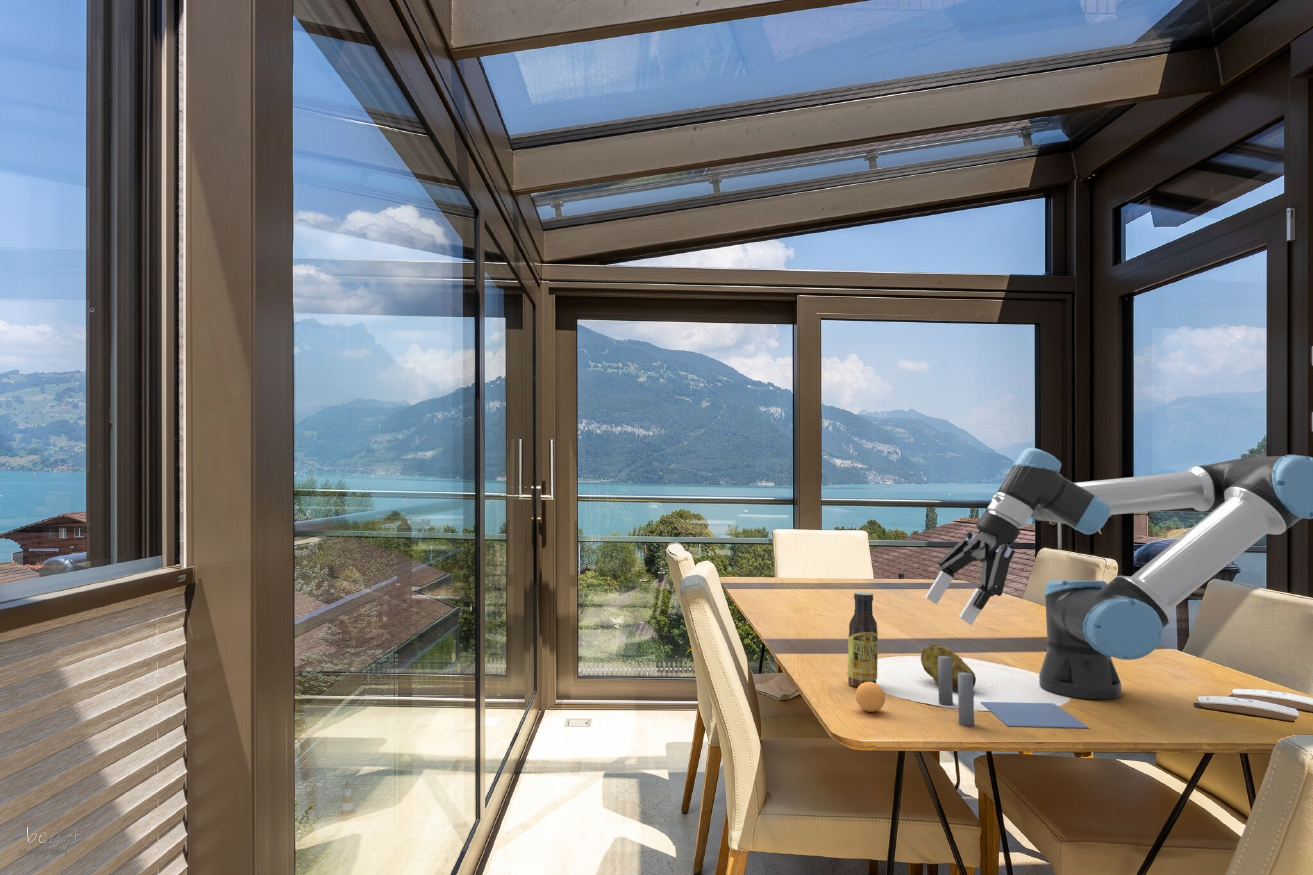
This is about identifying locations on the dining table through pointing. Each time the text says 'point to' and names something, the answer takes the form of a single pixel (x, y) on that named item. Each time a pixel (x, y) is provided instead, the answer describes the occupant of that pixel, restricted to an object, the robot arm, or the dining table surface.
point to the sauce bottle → (862, 642)
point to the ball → (870, 696)
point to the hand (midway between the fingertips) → (946, 610)
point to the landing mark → (1033, 715)
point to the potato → (931, 663)
